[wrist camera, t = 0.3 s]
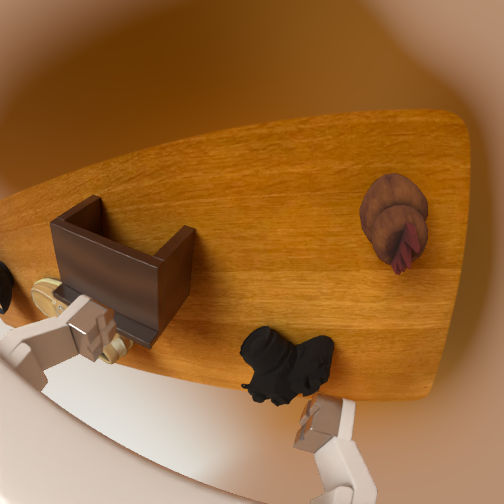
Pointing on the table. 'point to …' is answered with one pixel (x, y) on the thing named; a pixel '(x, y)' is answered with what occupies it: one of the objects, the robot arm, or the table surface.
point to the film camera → (285, 365)
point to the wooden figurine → (395, 220)
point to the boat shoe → (54, 307)
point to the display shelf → (121, 272)
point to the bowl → (5, 288)
